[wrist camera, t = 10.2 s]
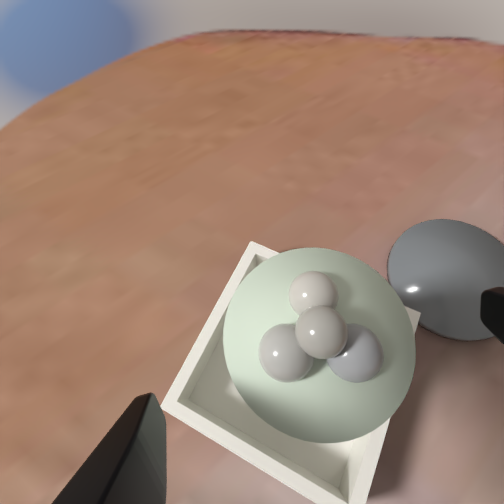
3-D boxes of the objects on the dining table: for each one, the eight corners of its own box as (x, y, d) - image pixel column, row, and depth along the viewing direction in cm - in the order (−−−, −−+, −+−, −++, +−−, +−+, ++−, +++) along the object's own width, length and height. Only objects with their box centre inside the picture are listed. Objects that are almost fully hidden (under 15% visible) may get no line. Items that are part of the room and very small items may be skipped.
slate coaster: (527, 249, 23) (534, 246, 22) (507, 365, 20) (514, 364, 19) (405, 207, 25) (408, 203, 24) (370, 305, 22) (373, 303, 21)
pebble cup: (334, 321, 21) (423, 225, 8) (339, 413, 19) (469, 466, 6) (252, 318, 21) (224, 222, 9) (248, 407, 19) (200, 445, 7)
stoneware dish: (400, 323, 21) (420, 312, 18) (343, 505, 17) (358, 529, 14) (253, 258, 24) (250, 240, 21) (176, 404, 20) (159, 407, 17)
